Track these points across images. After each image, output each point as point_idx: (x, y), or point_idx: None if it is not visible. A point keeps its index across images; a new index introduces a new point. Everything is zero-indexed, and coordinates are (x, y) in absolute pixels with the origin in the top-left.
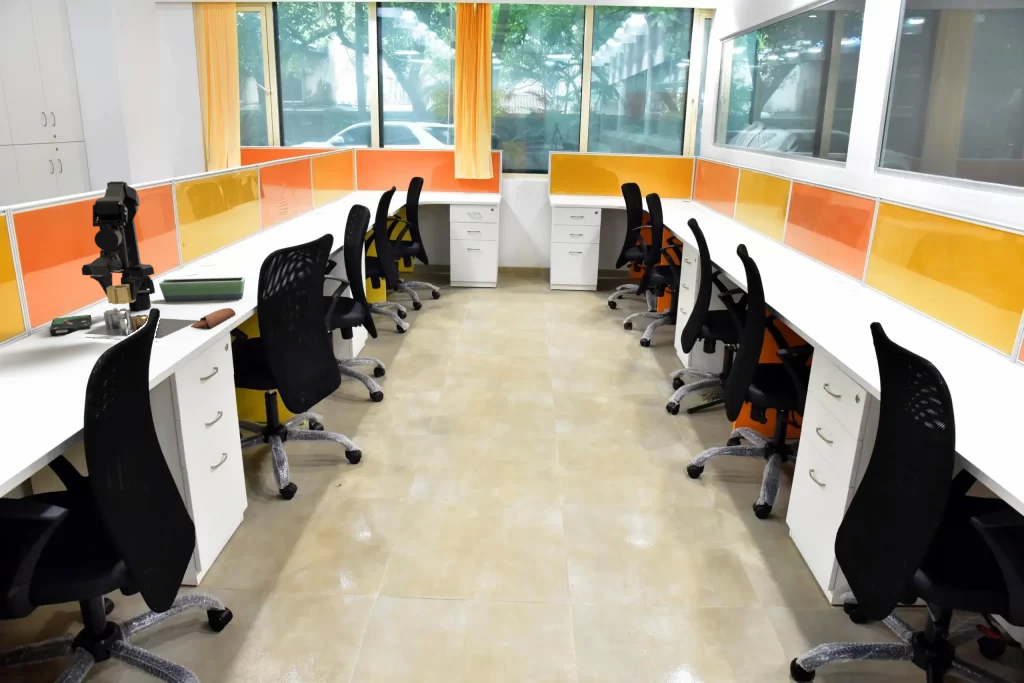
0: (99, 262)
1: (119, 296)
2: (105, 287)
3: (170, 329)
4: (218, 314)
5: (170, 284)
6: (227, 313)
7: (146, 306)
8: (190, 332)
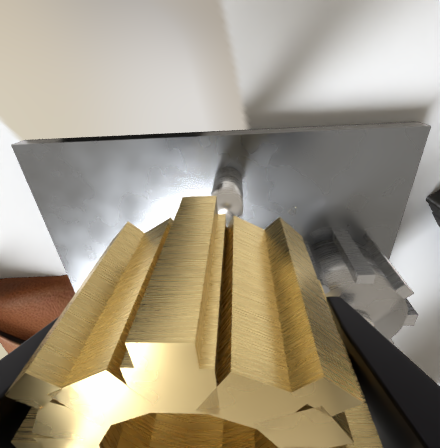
0: None
1: (130, 274)
2: (410, 424)
3: (96, 261)
4: None
5: None
6: None
7: None
8: (53, 273)
